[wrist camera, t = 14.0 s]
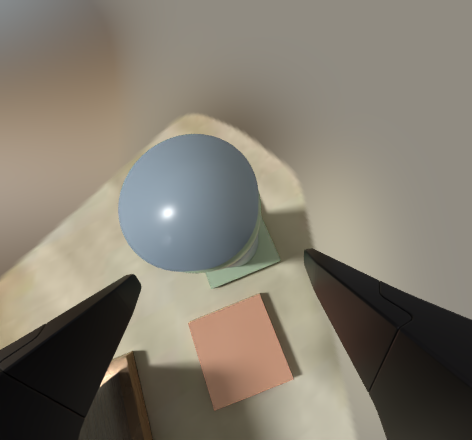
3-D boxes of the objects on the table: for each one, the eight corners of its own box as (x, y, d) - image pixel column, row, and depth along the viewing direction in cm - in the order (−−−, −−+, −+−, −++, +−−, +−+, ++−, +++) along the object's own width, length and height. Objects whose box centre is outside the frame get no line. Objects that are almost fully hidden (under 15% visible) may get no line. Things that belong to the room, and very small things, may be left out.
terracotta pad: (292, 375, 16) (293, 379, 16) (215, 405, 17) (214, 411, 16) (259, 293, 18) (259, 294, 18) (190, 321, 18) (188, 323, 18)
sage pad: (280, 260, 19) (281, 260, 18) (212, 288, 19) (211, 289, 18) (251, 196, 20) (251, 194, 20) (190, 222, 20) (187, 221, 20)
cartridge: (261, 266, 18) (268, 271, 6) (206, 269, 19) (108, 278, 6) (257, 212, 19) (255, 123, 7) (205, 216, 20) (122, 139, 8)
